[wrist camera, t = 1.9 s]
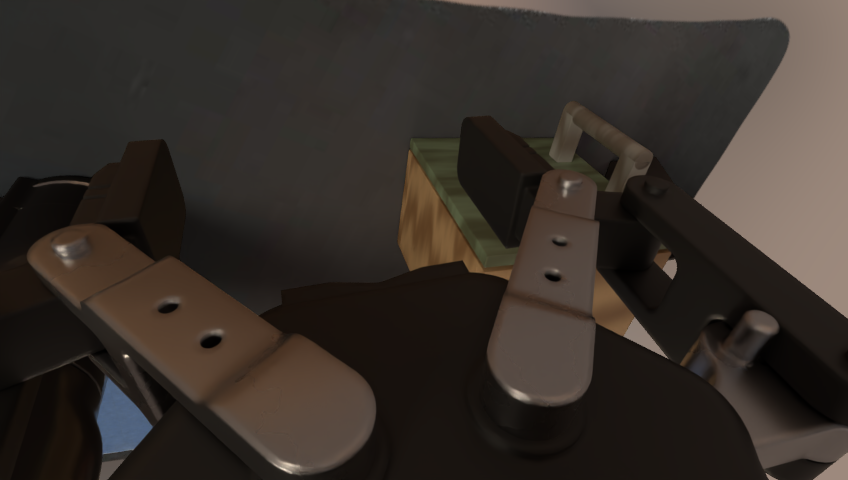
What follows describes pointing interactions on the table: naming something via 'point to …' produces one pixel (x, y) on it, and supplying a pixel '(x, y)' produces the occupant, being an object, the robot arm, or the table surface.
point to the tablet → (120, 421)
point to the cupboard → (445, 242)
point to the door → (557, 151)
